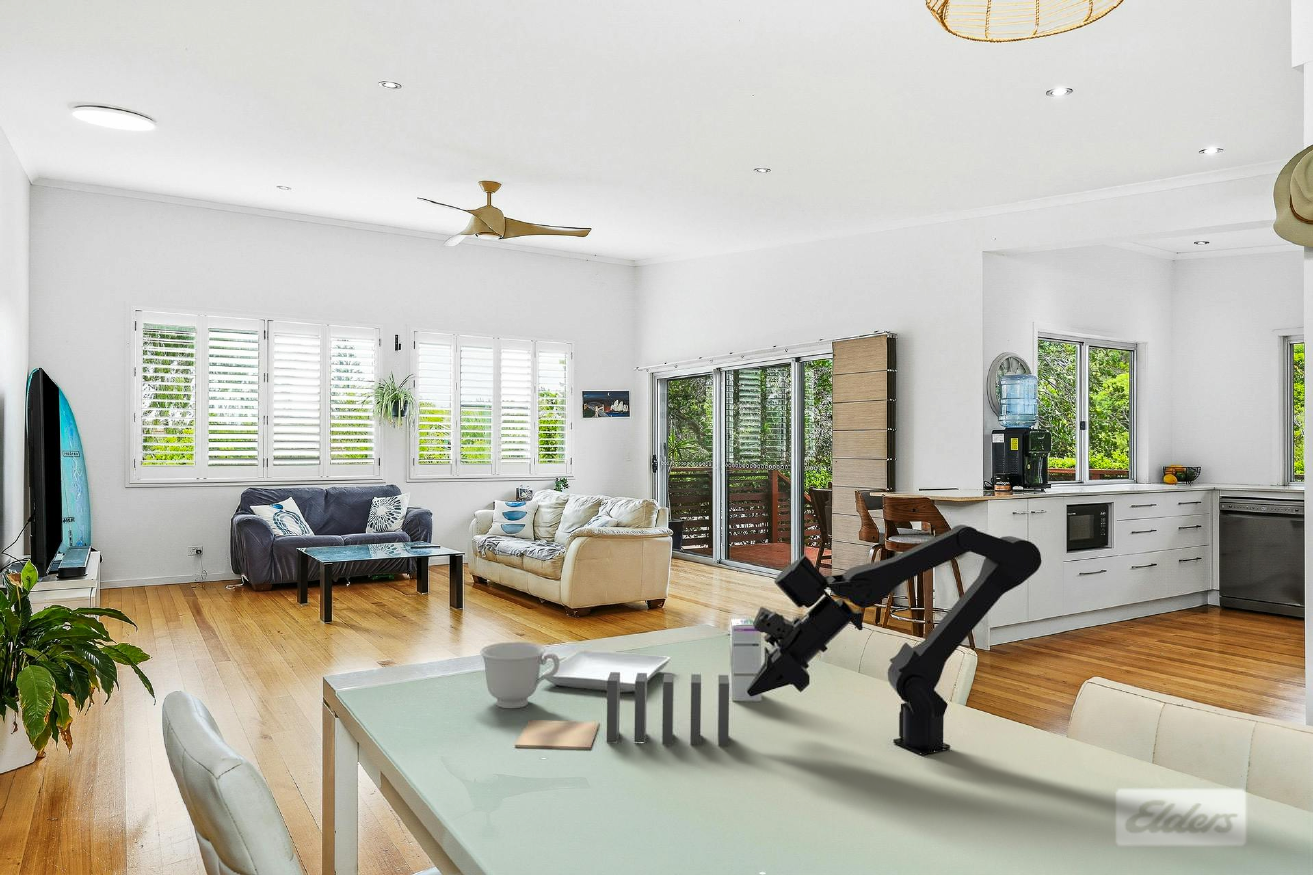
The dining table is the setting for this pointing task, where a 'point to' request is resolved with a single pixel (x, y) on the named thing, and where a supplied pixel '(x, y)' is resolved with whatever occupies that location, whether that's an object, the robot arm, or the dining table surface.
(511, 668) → the teacup
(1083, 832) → the dining table surface
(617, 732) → the domino
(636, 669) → the salad plate
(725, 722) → the domino
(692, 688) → the domino
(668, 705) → the domino
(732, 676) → the syrup box
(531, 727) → the cork mat
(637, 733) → the domino
